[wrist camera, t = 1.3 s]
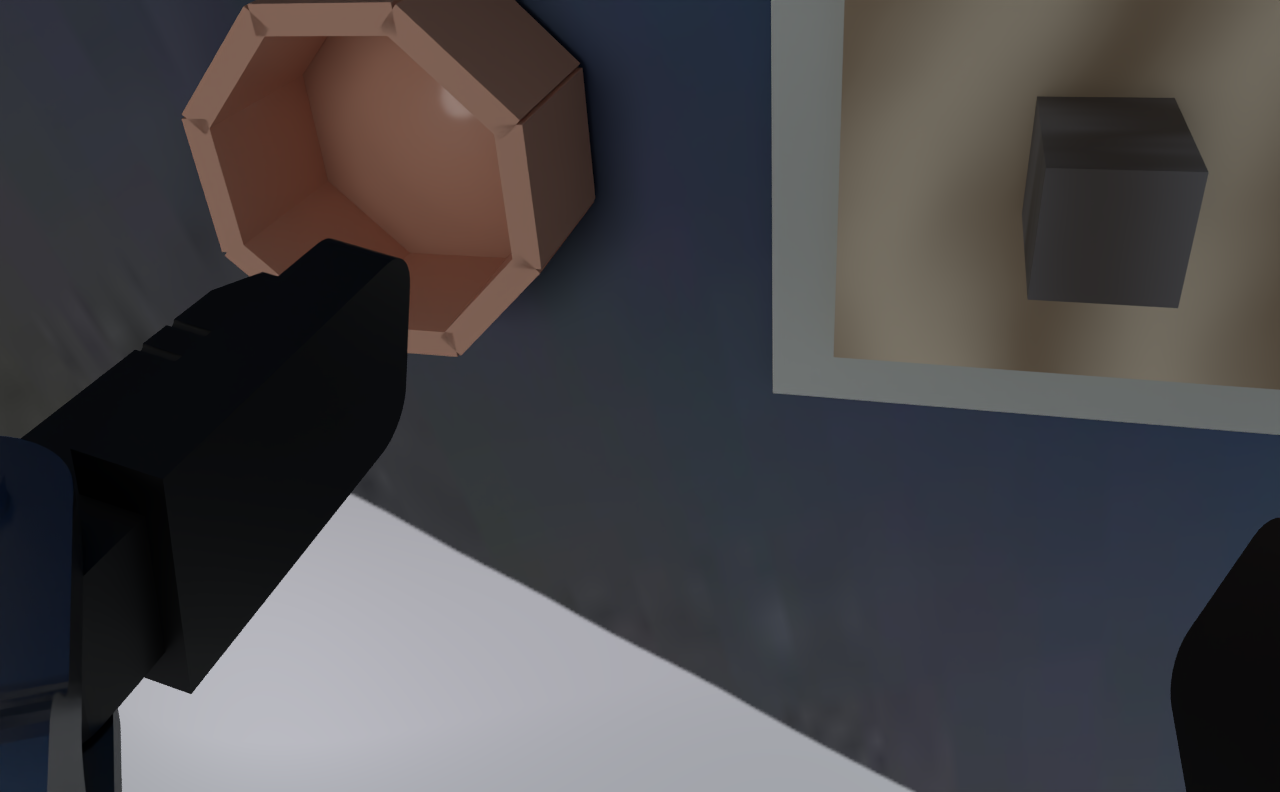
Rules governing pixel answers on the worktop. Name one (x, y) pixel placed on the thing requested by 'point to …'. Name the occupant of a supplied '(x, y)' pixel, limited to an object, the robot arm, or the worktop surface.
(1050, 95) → the lid
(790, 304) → the mat
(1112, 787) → the worktop surface
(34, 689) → the robot arm
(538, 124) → the bowl
